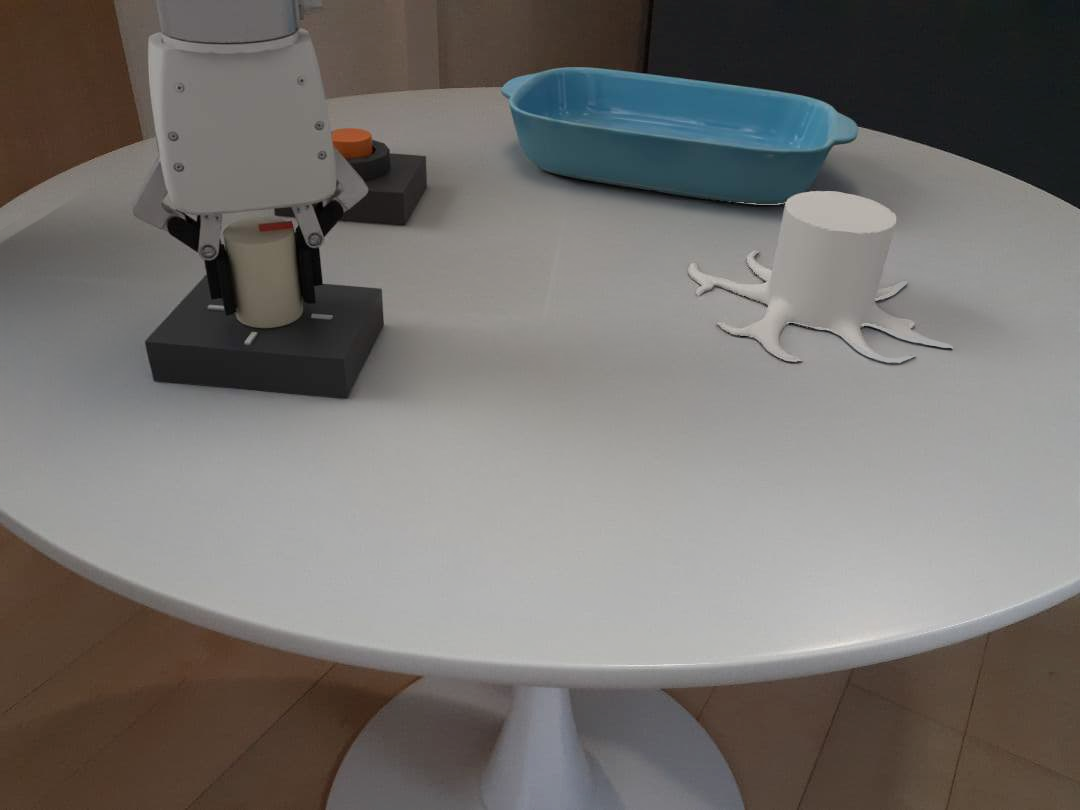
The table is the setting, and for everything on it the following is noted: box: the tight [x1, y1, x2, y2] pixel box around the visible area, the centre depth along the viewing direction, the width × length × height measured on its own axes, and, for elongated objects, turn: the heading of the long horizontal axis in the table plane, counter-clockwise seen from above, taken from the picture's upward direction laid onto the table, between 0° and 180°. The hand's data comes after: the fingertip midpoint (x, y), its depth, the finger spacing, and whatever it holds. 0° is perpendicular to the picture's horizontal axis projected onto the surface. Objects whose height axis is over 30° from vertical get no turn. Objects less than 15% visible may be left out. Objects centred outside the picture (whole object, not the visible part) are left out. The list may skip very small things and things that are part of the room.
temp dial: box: [222, 216, 303, 328], centre depth 61 cm, size 4×4×6 cm
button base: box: [274, 139, 428, 227], centre depth 86 cm, size 12×10×5 cm
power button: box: [331, 127, 373, 158], centre depth 85 cm, size 4×4×2 cm
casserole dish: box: [501, 66, 859, 204], centre depth 97 cm, size 37×22×7 cm, turn 74°
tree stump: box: [687, 190, 927, 360], centre depth 71 cm, size 20×19×8 cm
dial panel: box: [144, 273, 385, 399], centre depth 63 cm, size 13×10×3 cm
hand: (268, 297), depth 62 cm, fingers closed on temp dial, 4 cm apart
